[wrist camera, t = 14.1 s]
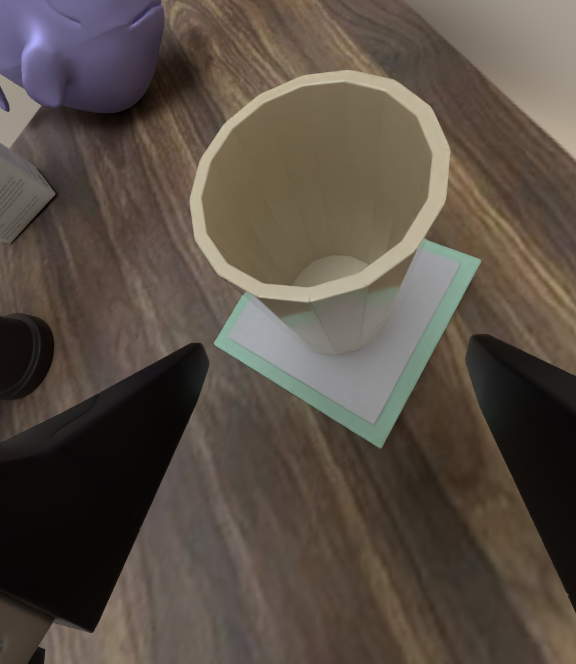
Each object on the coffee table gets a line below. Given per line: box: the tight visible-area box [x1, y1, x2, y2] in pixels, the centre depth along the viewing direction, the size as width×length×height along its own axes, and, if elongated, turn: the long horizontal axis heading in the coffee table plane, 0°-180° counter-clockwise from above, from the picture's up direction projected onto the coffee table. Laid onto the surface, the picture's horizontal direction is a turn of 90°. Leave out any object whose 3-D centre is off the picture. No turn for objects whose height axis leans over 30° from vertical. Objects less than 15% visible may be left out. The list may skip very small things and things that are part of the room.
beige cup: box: [190, 70, 451, 355], centre depth 12 cm, size 7×7×11 cm
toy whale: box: [0, 0, 164, 113], centre depth 25 cm, size 14×25×16 cm, turn 88°
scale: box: [214, 240, 481, 449], centre depth 19 cm, size 13×13×3 cm
